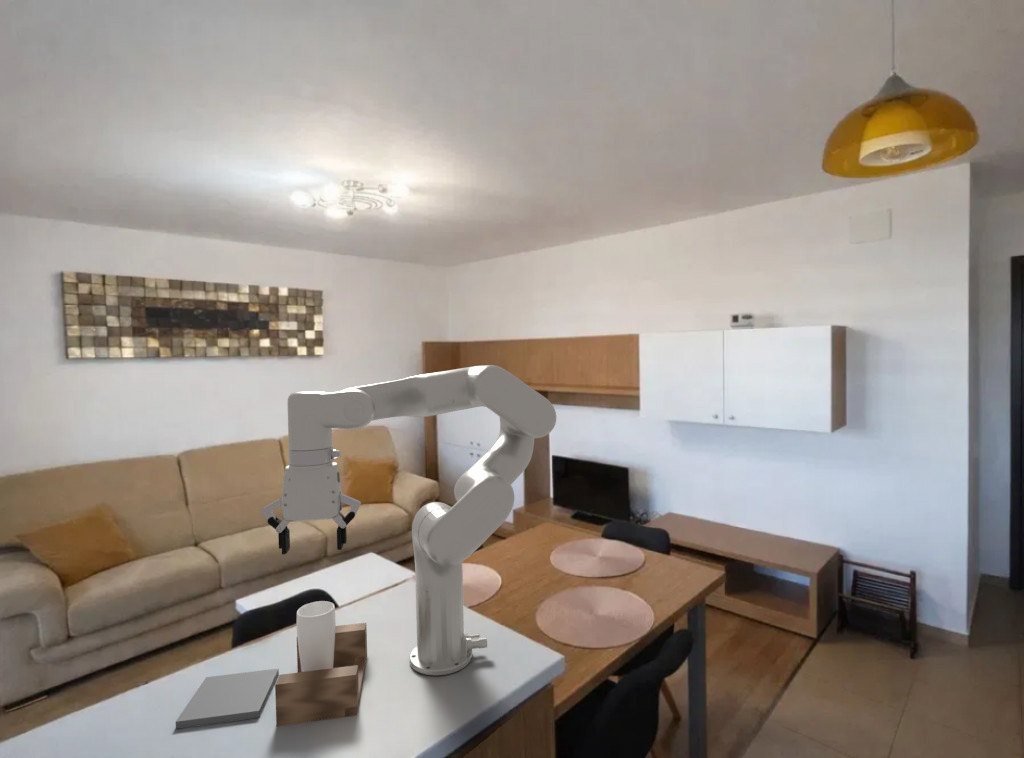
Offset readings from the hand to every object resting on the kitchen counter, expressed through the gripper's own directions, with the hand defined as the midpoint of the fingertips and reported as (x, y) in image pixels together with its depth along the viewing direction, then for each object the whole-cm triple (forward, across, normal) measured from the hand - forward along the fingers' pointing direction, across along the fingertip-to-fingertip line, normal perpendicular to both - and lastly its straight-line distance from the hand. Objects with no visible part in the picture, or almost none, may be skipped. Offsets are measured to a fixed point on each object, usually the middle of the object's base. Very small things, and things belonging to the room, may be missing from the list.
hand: (313, 549), depth 97 cm
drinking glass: (+26, 0, 0) cm, 26 cm away
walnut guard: (+26, -2, 0) cm, 26 cm away
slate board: (+26, +15, 0) cm, 30 cm away
